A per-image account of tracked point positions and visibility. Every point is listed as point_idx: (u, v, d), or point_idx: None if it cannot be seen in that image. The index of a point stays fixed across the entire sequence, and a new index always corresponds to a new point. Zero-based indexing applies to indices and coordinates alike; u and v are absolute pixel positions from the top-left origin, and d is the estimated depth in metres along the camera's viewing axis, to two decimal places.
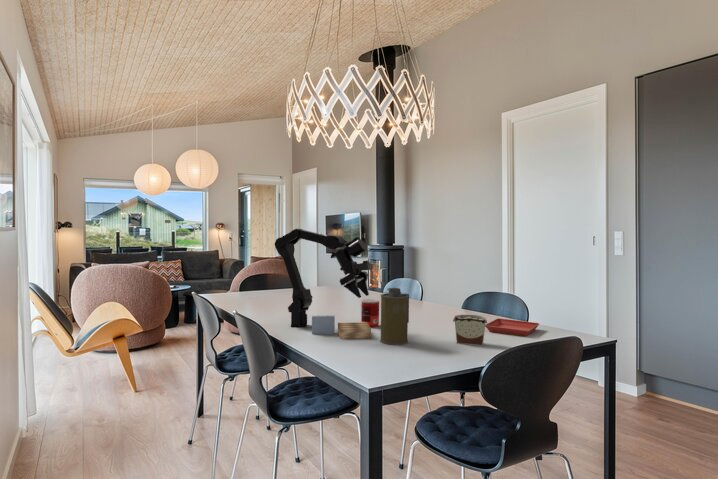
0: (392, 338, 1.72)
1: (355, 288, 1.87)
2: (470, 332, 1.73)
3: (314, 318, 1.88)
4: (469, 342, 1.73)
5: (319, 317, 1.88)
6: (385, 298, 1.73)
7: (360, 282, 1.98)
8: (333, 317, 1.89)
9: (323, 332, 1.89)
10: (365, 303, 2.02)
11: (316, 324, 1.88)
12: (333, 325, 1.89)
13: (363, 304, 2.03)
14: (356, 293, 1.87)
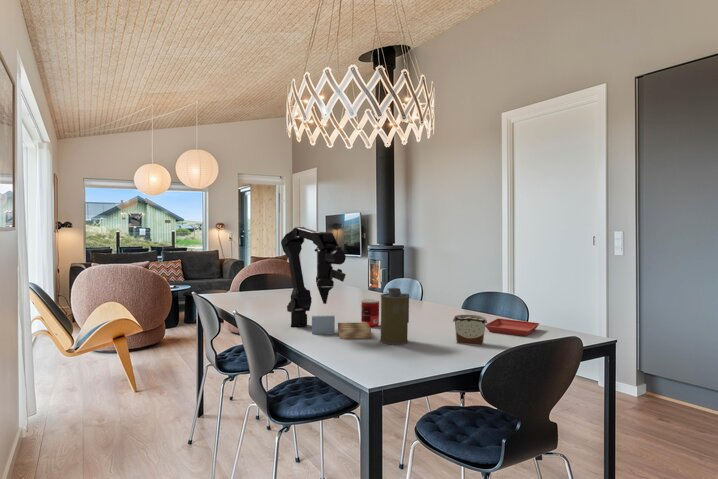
0: (392, 338, 1.72)
1: (326, 294, 1.84)
2: (470, 332, 1.73)
3: (314, 318, 1.88)
4: (469, 342, 1.73)
5: (319, 317, 1.88)
6: (385, 298, 1.73)
7: None
8: (333, 317, 1.89)
9: (323, 332, 1.89)
10: (365, 303, 2.02)
11: (316, 324, 1.88)
12: (333, 325, 1.89)
13: (363, 304, 2.03)
14: (324, 298, 1.84)
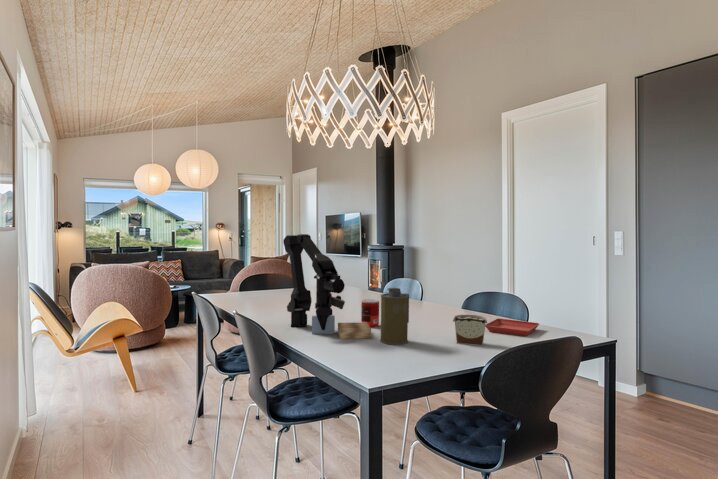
0: (392, 338, 1.72)
1: (324, 320, 1.87)
2: (470, 332, 1.73)
3: (314, 318, 1.88)
4: (469, 342, 1.73)
5: None
6: (385, 298, 1.73)
7: None
8: (333, 317, 1.89)
9: (323, 332, 1.89)
10: (365, 303, 2.02)
11: (316, 324, 1.88)
12: (333, 325, 1.89)
13: (363, 304, 2.03)
14: (322, 325, 1.88)
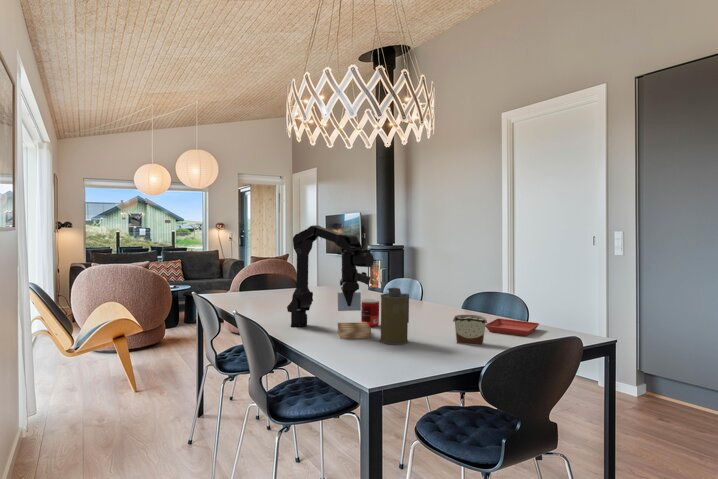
0: (392, 338, 1.72)
1: (350, 296, 1.85)
2: (470, 332, 1.73)
3: (340, 295, 1.85)
4: (469, 342, 1.73)
5: None
6: (385, 298, 1.73)
7: None
8: (359, 293, 1.86)
9: (349, 309, 1.86)
10: (365, 303, 2.02)
11: (342, 301, 1.86)
12: (359, 302, 1.86)
13: (363, 304, 2.03)
14: (348, 301, 1.85)
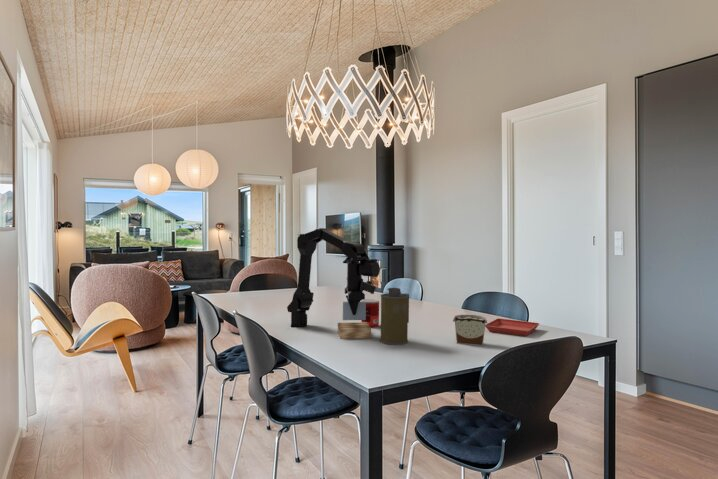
0: (392, 338, 1.72)
1: (355, 305, 1.84)
2: (470, 332, 1.73)
3: (345, 304, 1.85)
4: (469, 342, 1.73)
5: None
6: (385, 298, 1.73)
7: None
8: (364, 303, 1.86)
9: (354, 318, 1.86)
10: None
11: (347, 310, 1.86)
12: (364, 311, 1.86)
13: None
14: (353, 310, 1.85)
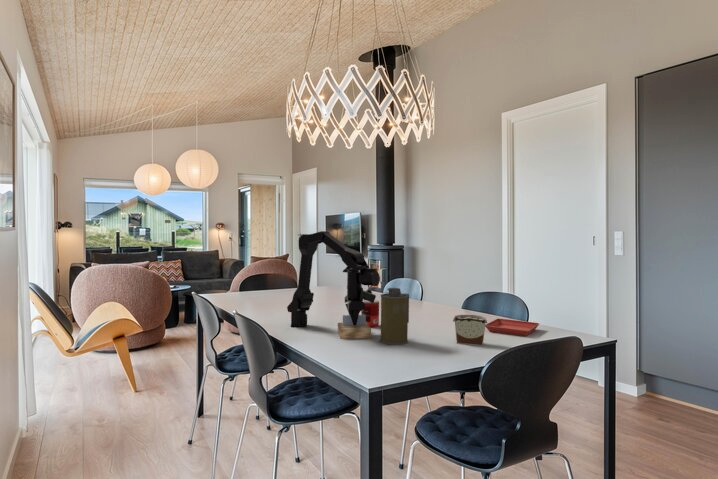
0: (392, 338, 1.72)
1: (356, 315, 1.83)
2: (470, 332, 1.73)
3: (345, 317, 1.85)
4: (469, 342, 1.73)
5: None
6: (385, 298, 1.73)
7: None
8: (364, 316, 1.86)
9: None
10: (365, 303, 2.02)
11: (347, 323, 1.86)
12: (364, 324, 1.86)
13: None
14: (354, 320, 1.83)
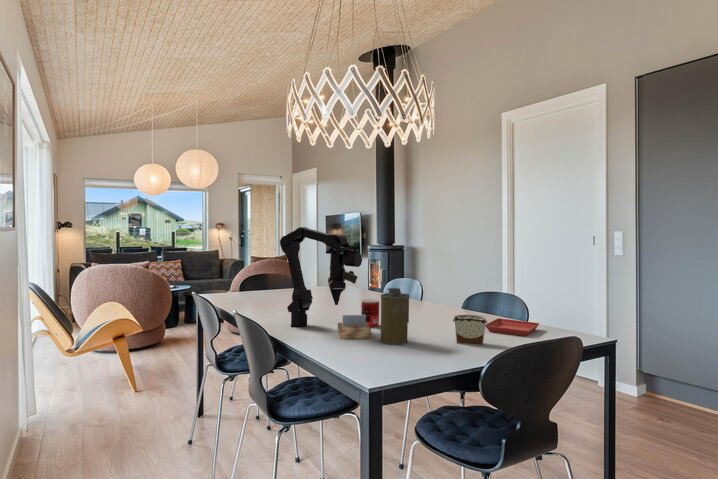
0: (392, 338, 1.72)
1: (338, 295, 1.88)
2: (470, 332, 1.73)
3: (345, 317, 1.85)
4: (469, 342, 1.73)
5: (350, 316, 1.86)
6: (385, 298, 1.73)
7: None
8: (364, 316, 1.86)
9: None
10: (365, 303, 2.02)
11: (347, 323, 1.86)
12: (364, 324, 1.86)
13: (363, 304, 2.03)
14: (336, 300, 1.89)
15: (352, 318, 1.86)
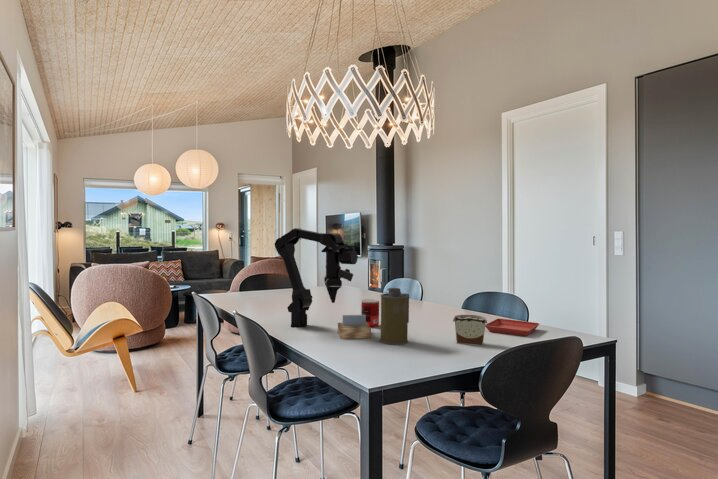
0: (392, 338, 1.72)
1: (334, 293, 1.90)
2: (470, 332, 1.73)
3: (345, 317, 1.85)
4: (469, 342, 1.73)
5: (350, 316, 1.86)
6: (385, 298, 1.73)
7: None
8: (364, 316, 1.86)
9: None
10: (365, 303, 2.02)
11: (347, 323, 1.86)
12: (364, 324, 1.86)
13: (363, 304, 2.03)
14: (332, 298, 1.90)
15: (352, 318, 1.86)
